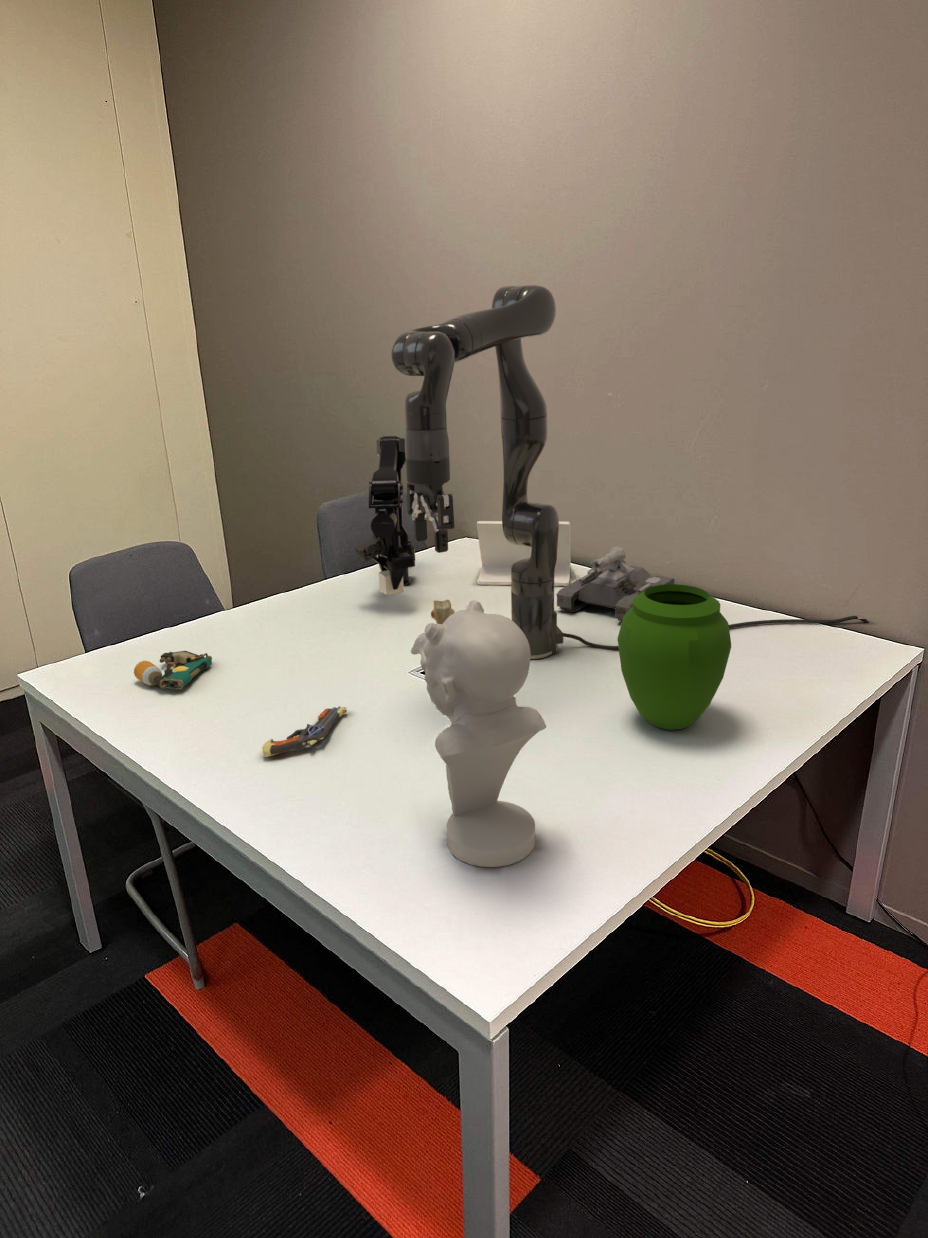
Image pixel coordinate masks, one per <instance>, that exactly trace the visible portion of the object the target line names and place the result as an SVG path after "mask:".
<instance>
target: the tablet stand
mask: <svg viewBox="0 0 928 1238" xmlns="http://www.w3.org/2000/svg"><path fill="white" fill-rule="evenodd" d="M476 531H477V537H478V544H479V551H480V557H481V558H480V559H481V570H480V573H479V575H478V577H477V580H476V581H477V582H476V584H478V585H484V586H485V585H486V586H487V585H489V586H490V585H491V586H511V567H512V565H513V563H515V562H516V561H519V560H522V559H526V558H530V557H531V549H532V547H528V546H522V545H517V544H512V543H510V542H508V541H507V539H506V538H505V536H504V533H503V527H502V520H477V522H476ZM571 560H572V558H571V522H569V521H559V535H558V549H557V562H556V567H555V571H554V587H556V586H557V587H566V586H567V585H569V584H570V580H571V579H570V578H571V565H572V564H571Z"/></svg>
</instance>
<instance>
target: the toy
mask: <svg viewBox="0 0 928 1238" xmlns="http://www.w3.org/2000/svg"><path fill="white" fill-rule="evenodd" d="M626 557H627V556H626V551H625V549H624V548H622V547H621V546H614V547H612V548H611V549H610V550H609V552H608V553H607V554H605V555H604V556H601V557H599V558H598V559H597V557H596V558H594V559H593V560H592V561H590V562H589V563H590V564H591V565H592V567H591V568H590V569H589V570H587V573H586V575H584V576H582V577H580V578H578V579H577V580H575V581H573V582H570V583H569V585H567V586H563V587H562V588H560V589H559V590H558V591H557V592H556V607H558V608H559V609H560V610H562V611H566V612H572V613H575V612H577V611H579V610H581V609H582V608H585V607H586V606H588V605H592V606H598V607H602V608H603V607H604V608H609V609H613V610H614V618H615V619H617V620H618V621H621V622H622V620H623V616H624V615H625V614H626V613H627V612H628V611H629V610H630V609H631V608H632V607H633V599H634V597H635V596H637V595H639V594H640V593H642V592H644V591H645V590H646V589H648V588H650V587H653V586H658V585H667V584H675V580H676V579H675V578H673V577H668V576H663V575H656V576H655V577H654V576H651V574H650V573H649V572H648V571H647V570H646V568H644V567H641V566H635V565H629V564H628V563H627V562H626V561H625V559H626Z"/></svg>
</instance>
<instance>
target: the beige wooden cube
mask: <svg viewBox="0 0 928 1238" xmlns="http://www.w3.org/2000/svg"><path fill="white" fill-rule="evenodd" d="M378 585H379V586H378V587H379V591H380V592H381V593H382V594H384V595H385V596H391V595H394V594H395V595H396V594H401V593H404V592H405V588H404V586H405V585H403V577H402V579H401V582H400V584H399V587H398V589H396V590H394V589H393V587H392V583H391V578H390V573H389V570H387V571H381V570H380V571H378Z"/></svg>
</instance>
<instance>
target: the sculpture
mask: <svg viewBox="0 0 928 1238" xmlns="http://www.w3.org/2000/svg"><path fill="white" fill-rule="evenodd" d="M455 612H456V611H455V609H453V608H452V602H451V601H450V599H445V600H433V610H431V612H430V617H431V618H432V619H433V620H434V621H435V622H436V623H435V624H443V623H444V622H445V620H446V619H447V618H448V617H450V616H451V615H452V614H453V613H455Z"/></svg>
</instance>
